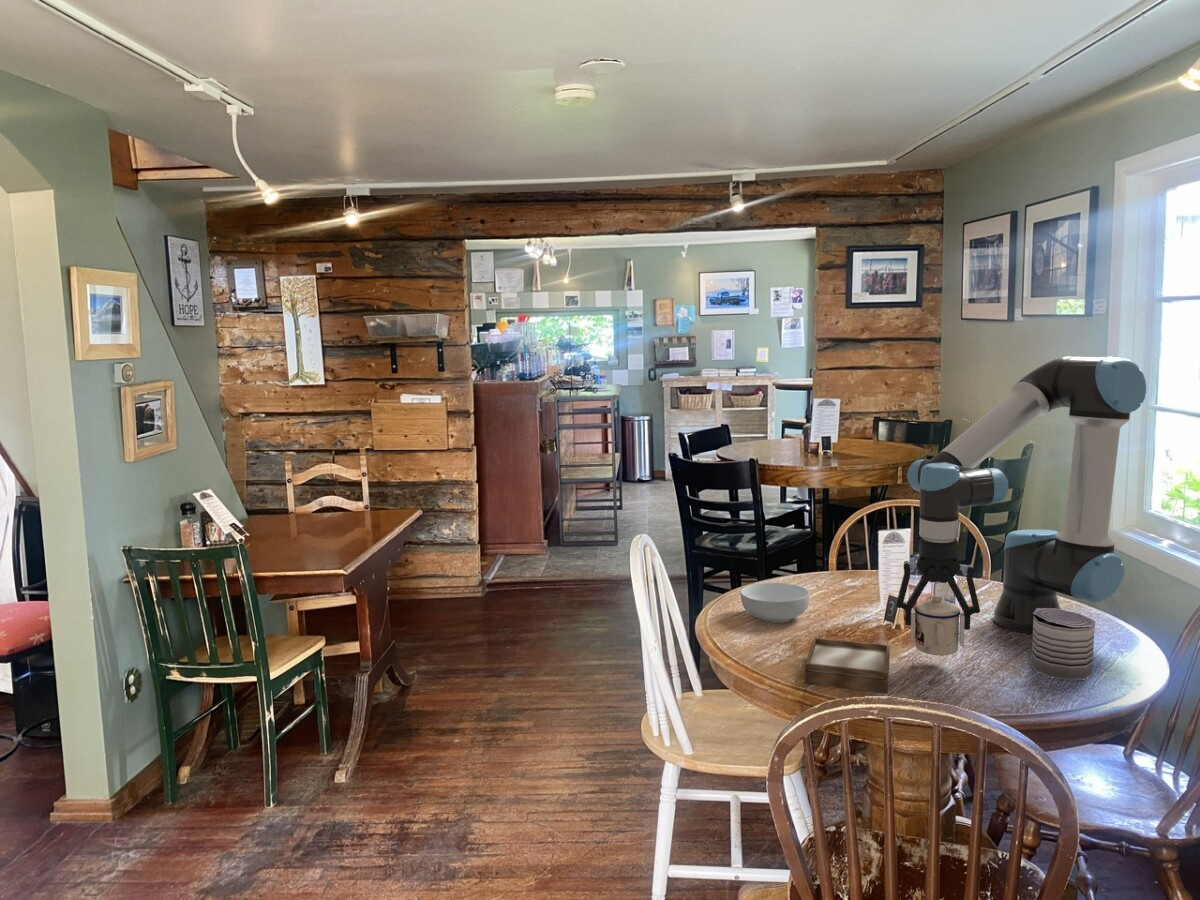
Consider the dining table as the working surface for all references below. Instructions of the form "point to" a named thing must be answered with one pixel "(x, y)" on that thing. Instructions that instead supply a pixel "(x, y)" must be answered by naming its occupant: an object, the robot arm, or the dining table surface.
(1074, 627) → the can
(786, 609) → the cereal bowl
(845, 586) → the dining table surface
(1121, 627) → the dining table surface
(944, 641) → the teacup with lid
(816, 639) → the wooden box
